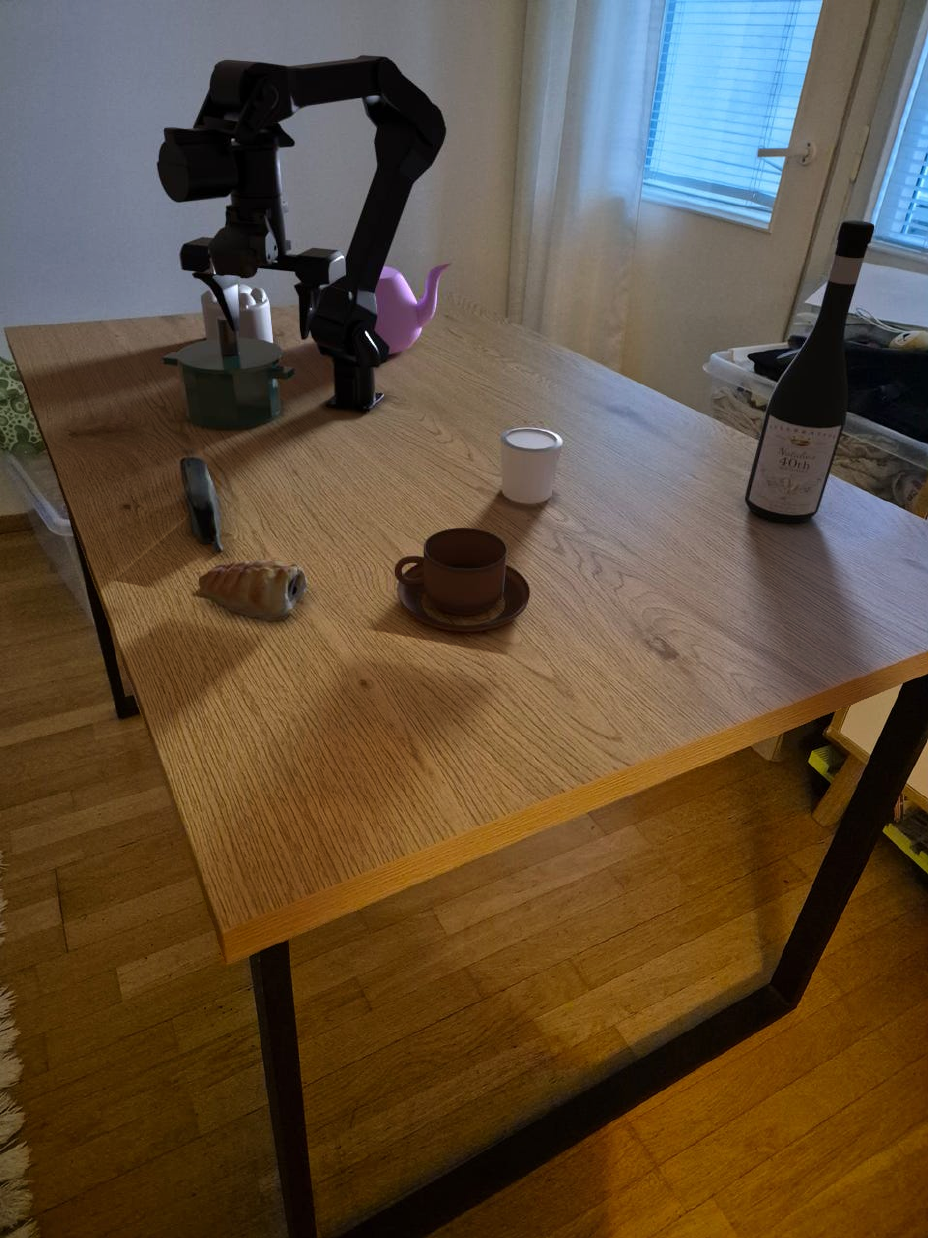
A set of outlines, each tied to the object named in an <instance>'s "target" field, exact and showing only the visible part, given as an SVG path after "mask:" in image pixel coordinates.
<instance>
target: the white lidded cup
mask: <svg viewBox="0 0 928 1238" xmlns="http://www.w3.org/2000/svg"><path fill="white" fill-rule="evenodd" d="M499 444H500V472H501V473H500V475H501V477H500V478H501V493H502V494H503V496H504V497H505V498H507V499H508V500H510V501H512V502H517V503H521V504H529V505H530V504H531V505H532V504H541V503H543V502H546V501H548V500H549V499H551V497H552V495H553V490H554V485H555V480H556V476H557V472H558V471H557V470H558V466H559V460H560V455H561V452H562V446H563V439H562V438H561V437H560V435H558V434H557V433H555V432H553V431H551V430H547V429H543V428H538V427H537V428H536V427H519V428H518V427H517V428H512V429H508V430H506V431H505V432H503V433H501V435H500V439H499Z"/></svg>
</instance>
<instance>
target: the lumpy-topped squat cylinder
mask: <svg viewBox="0 0 928 1238" xmlns="http://www.w3.org/2000/svg"><path fill="white" fill-rule="evenodd" d="M238 300H239V330H238V331H237V332H238V338H251V339H259V340H264V341H268V342H271V343H274V339H273V338H274V337H273V327H272V317H271V306H270V299H269V298H268V296H267V294H266V292H265V290H264V289H263V288H261V287H254V288H251V287H250V286H249V285H247V284H242V283H241V284H239V283H238ZM200 304H201V311H202V316H203V318H202V319H203V325H204V331H205V339H206V340H212V339H219V335H218V327H217V320H216V318H217V317H218V316H222V315H224V313H223V311H222V309H221V307H220V305H219V303H218V301H217V299H216V297H215V295H214V294H213V292H212V290H211V289H208V290H206V291H205V292H203V293H202V294H201V295H200Z"/></svg>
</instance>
